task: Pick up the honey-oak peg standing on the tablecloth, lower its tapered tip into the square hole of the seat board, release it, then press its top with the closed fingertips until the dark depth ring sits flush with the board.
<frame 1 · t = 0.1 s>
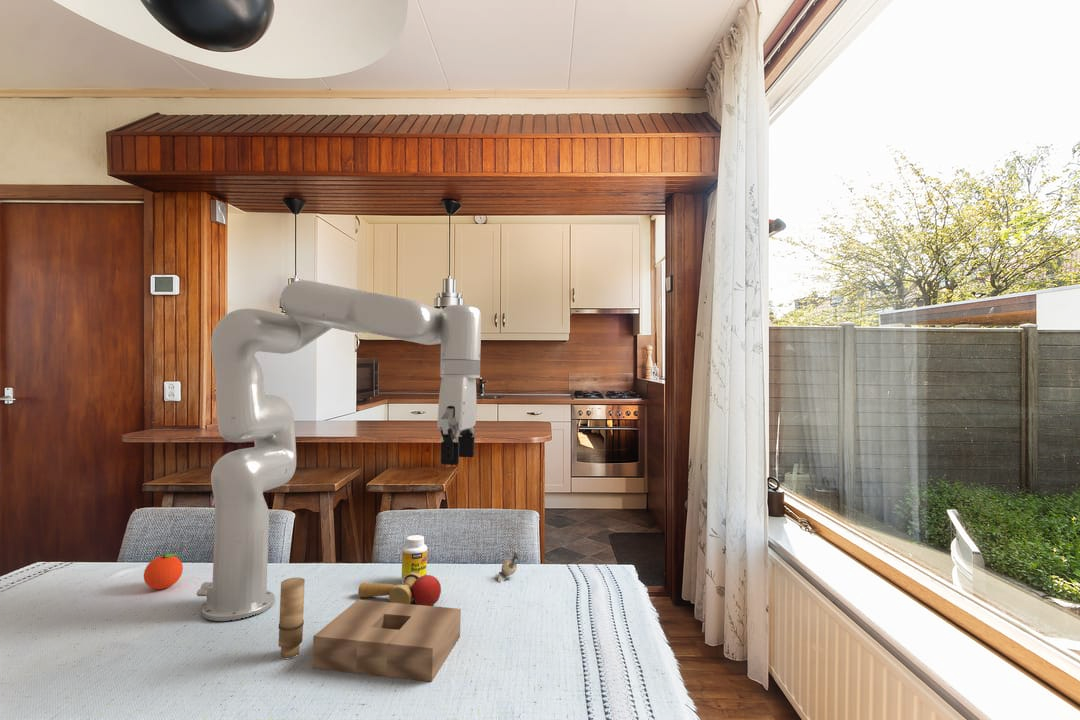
hand: (458, 460, 97), 31 cm above the table, tool pointing down, fingers open, 9 cm apart
clementine: (165, 588, 112), on the table
seat board: (390, 651, 87), on the table
kendama: (398, 603, 107), on the table
supplement bottle: (413, 583, 117), on the table
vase: (510, 579, 120), on the table
oak peg: (290, 654, 85), on the table
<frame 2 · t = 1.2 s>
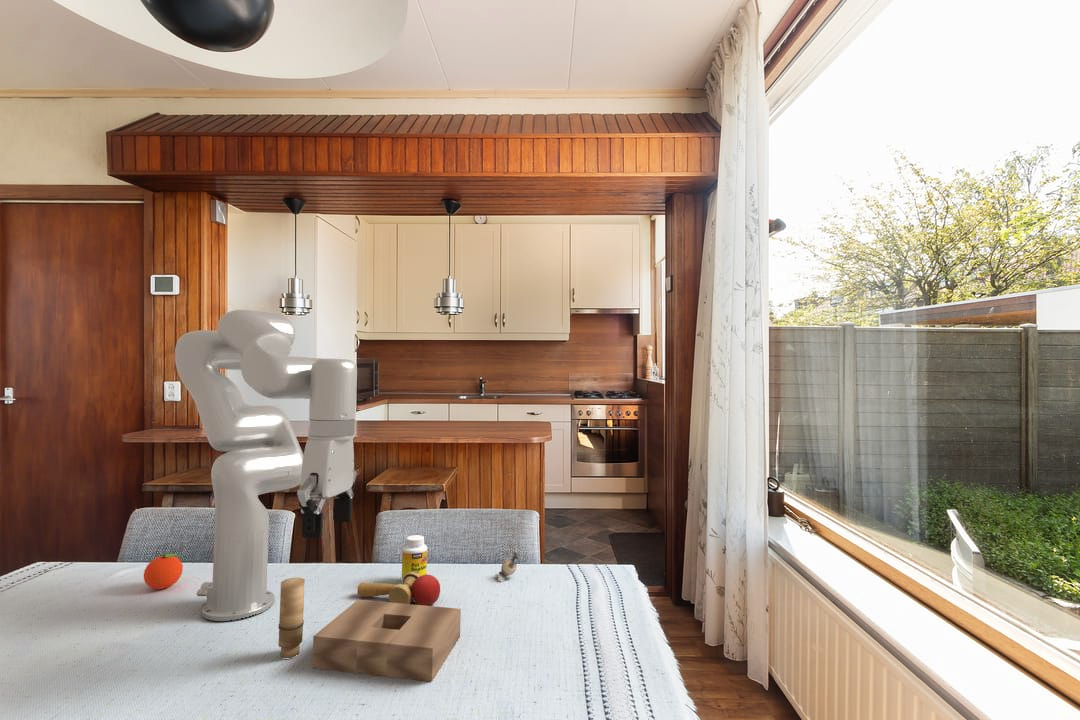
hand: (327, 528, 88), 20 cm above the table, tool pointing down, fingers open, 9 cm apart
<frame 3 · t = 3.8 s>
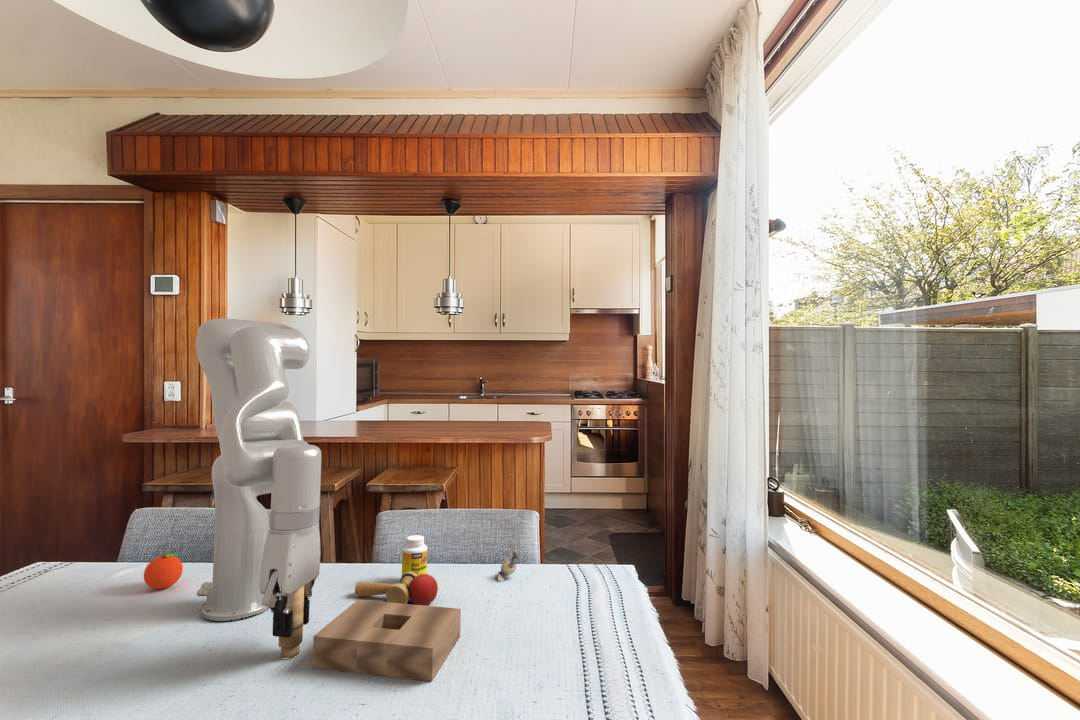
hand: (291, 628, 86), 4 cm above the table, tool pointing down, fingers closed on oak peg, 3 cm apart
oak peg: (290, 654, 85), on the table, touching gripper
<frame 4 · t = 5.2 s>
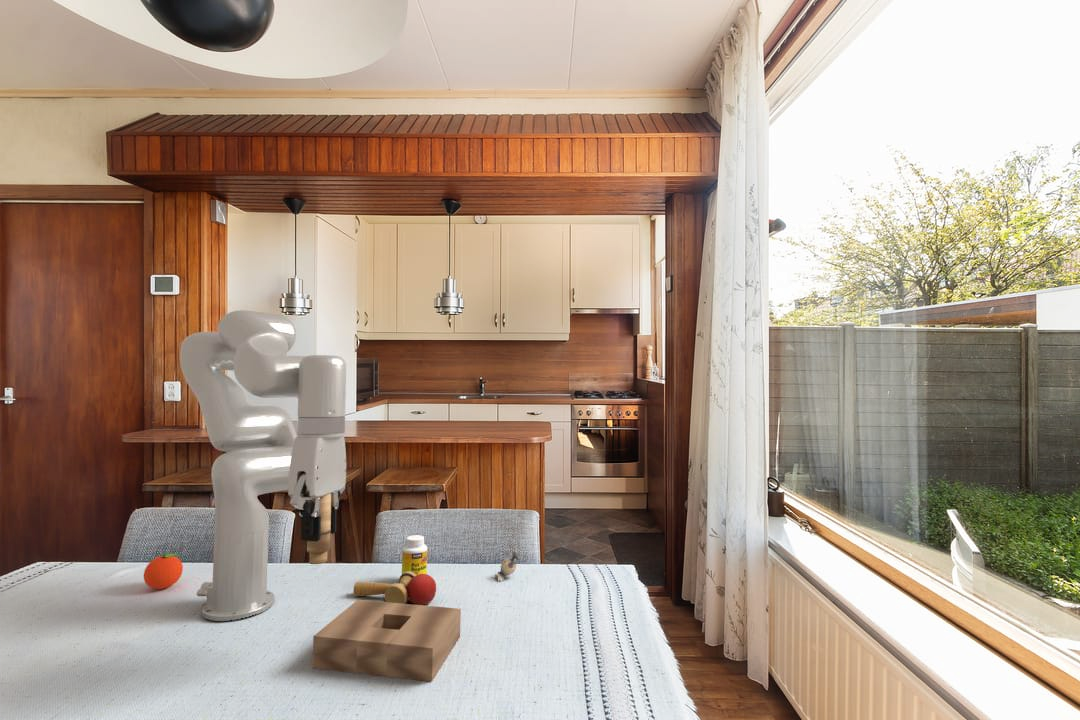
hand: (318, 535, 86), 20 cm above the table, tool pointing down, fingers closed on oak peg, 3 cm apart
oak peg: (318, 561, 86), point 15 cm above the table, touching gripper
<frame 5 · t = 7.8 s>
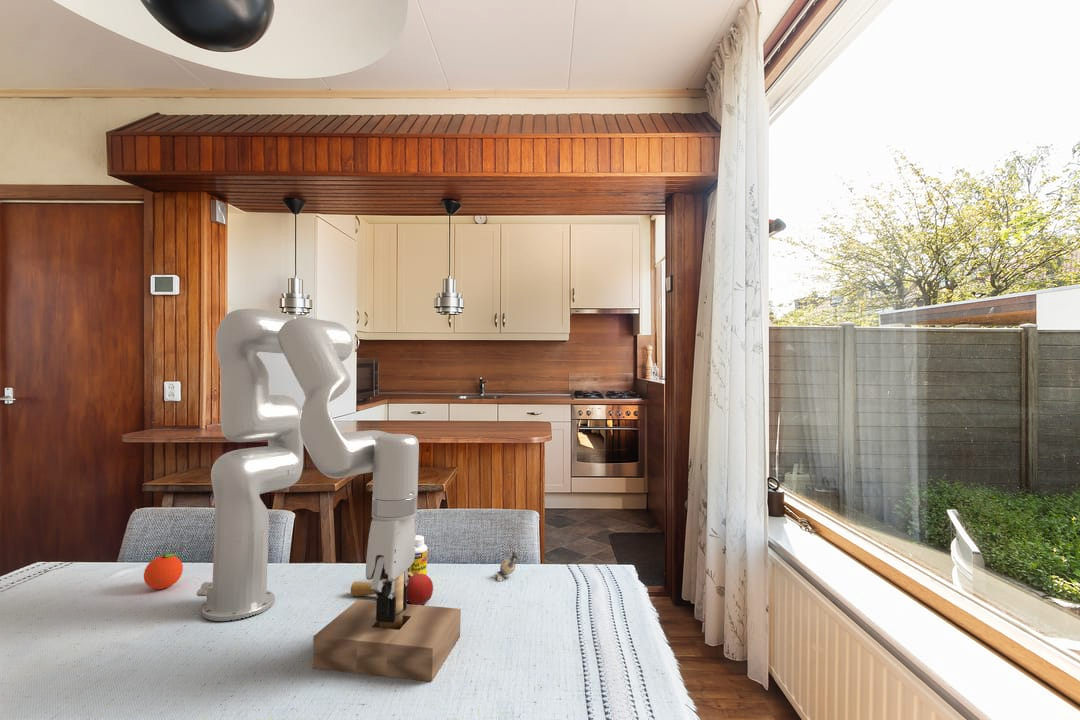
hand: (391, 614, 87), 6 cm above the table, tool pointing down, fingers closed on oak peg, 3 cm apart
oak peg: (391, 639, 87), point 2 cm above the table, touching gripper
when the fingers open (6 cm above the table, at t = 7.8 s): oak peg drops 2 cm, resting in seat board.
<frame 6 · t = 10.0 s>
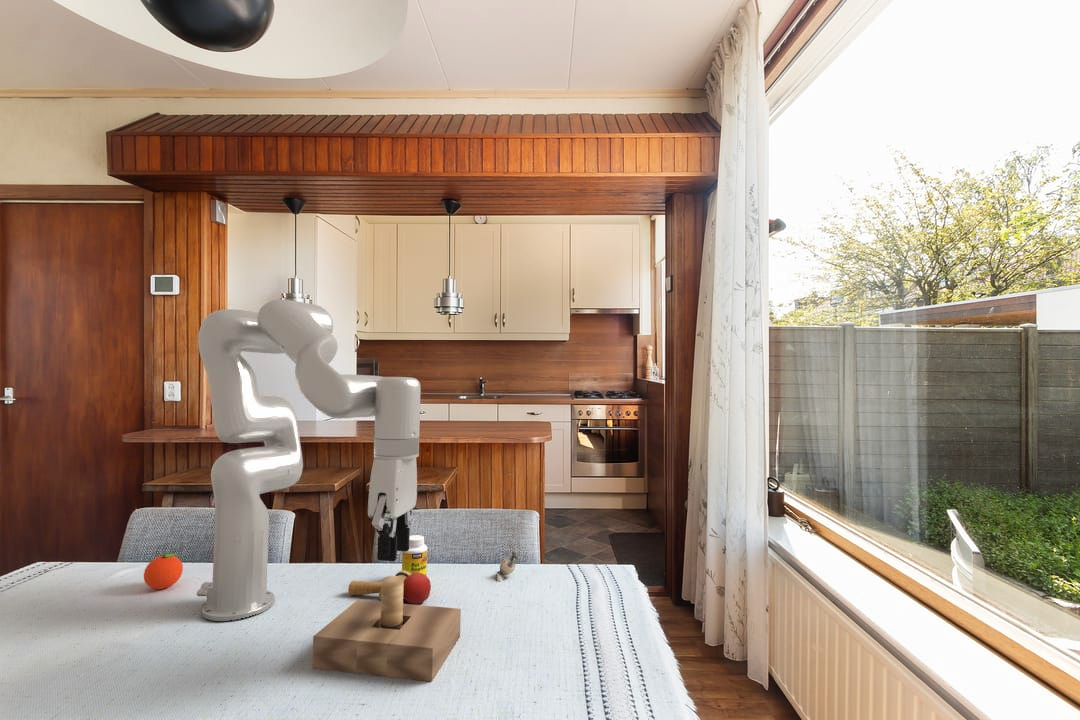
hand: (393, 554, 88), 16 cm above the table, tool pointing down, fingers open, 4 cm apart
oak peg: (390, 651, 87), resting in seat board
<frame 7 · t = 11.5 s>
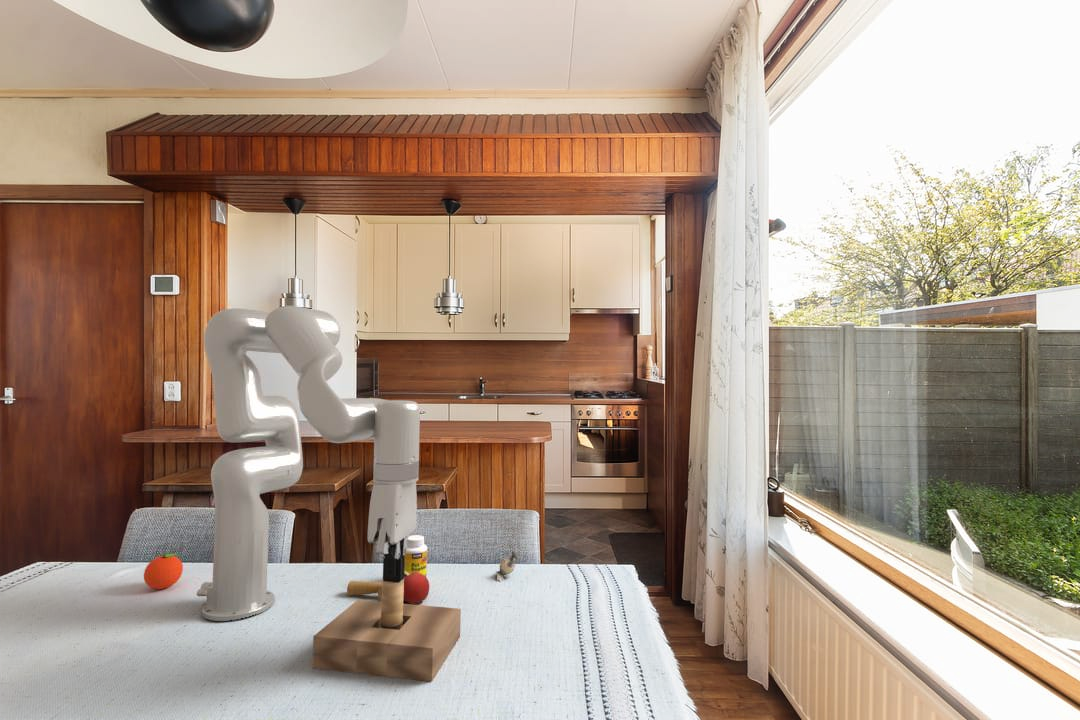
hand: (393, 579, 87), 12 cm above the table, tool pointing down, fingers closed
oak peg: (390, 651, 87), resting in seat board, touching gripper
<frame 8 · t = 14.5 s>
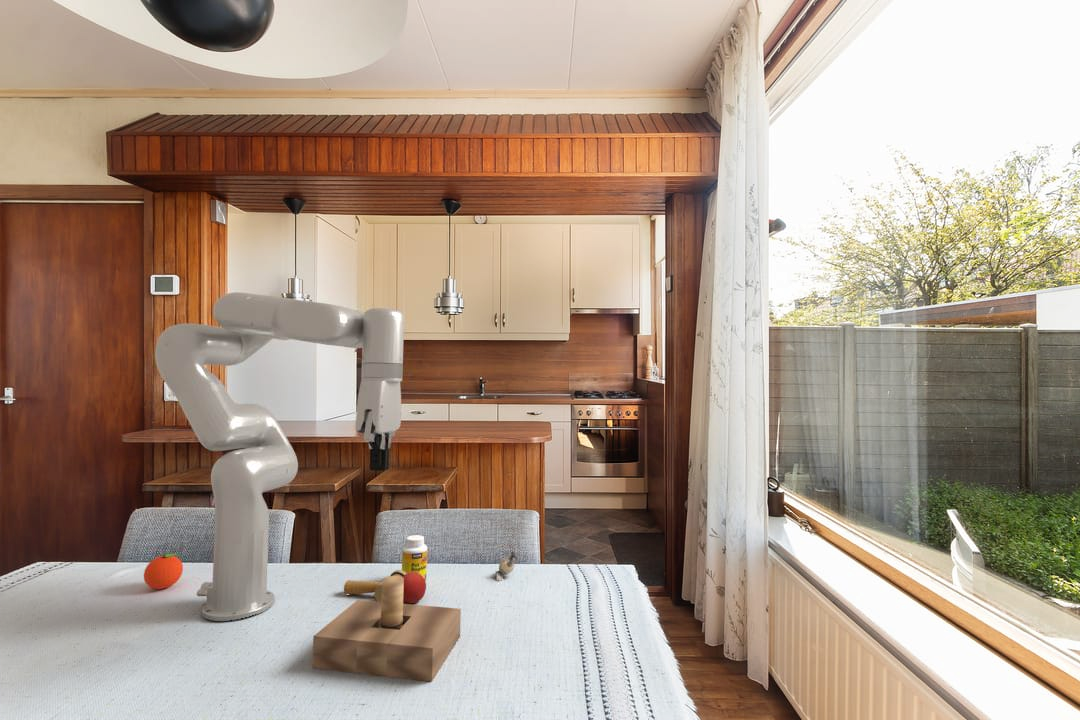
hand: (379, 469, 97), 29 cm above the table, tool pointing down, fingers closed
oak peg: (390, 651, 87), resting in seat board
at the end: oak peg 0.0 cm off-centre on the seat board, point 0.0 cm above the seat board's base; oak peg tilted 0°; the gripper is holding nothing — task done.
